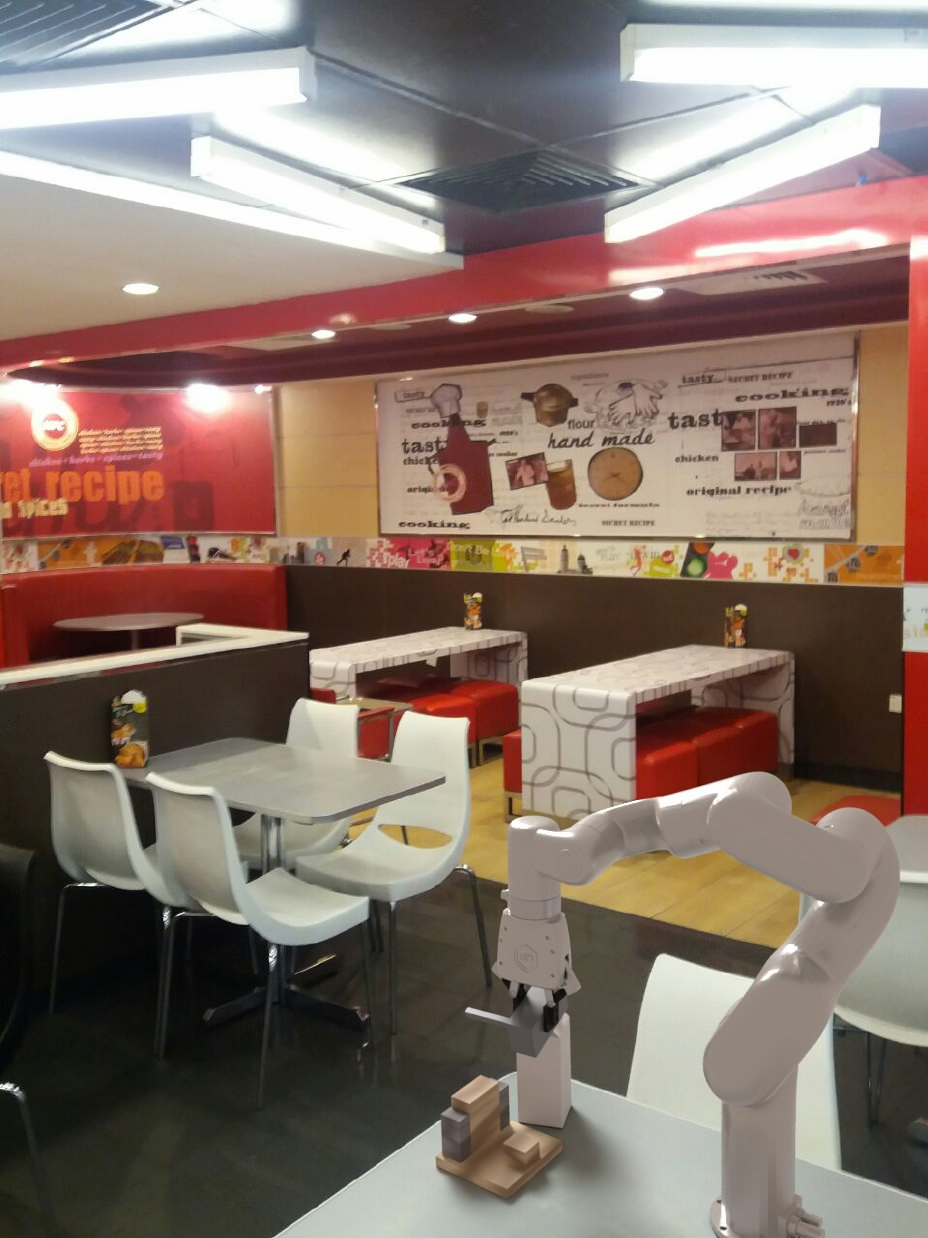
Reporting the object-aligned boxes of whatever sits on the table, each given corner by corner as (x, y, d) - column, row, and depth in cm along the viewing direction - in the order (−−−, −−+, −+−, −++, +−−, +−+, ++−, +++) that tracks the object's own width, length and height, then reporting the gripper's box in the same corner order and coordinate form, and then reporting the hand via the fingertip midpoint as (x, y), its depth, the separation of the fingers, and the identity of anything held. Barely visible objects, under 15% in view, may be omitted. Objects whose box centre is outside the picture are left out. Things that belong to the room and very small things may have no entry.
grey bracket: (568, 1007, 168) (564, 980, 166) (536, 1058, 159) (531, 1030, 157) (503, 990, 173) (499, 964, 172) (469, 1039, 165) (463, 1012, 163)
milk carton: (517, 1123, 176) (514, 1008, 174) (528, 1099, 183) (525, 988, 180) (562, 1129, 174) (560, 1013, 171) (571, 1104, 181) (569, 992, 178)
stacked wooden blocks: (562, 1150, 169) (561, 1090, 167) (507, 1199, 158) (505, 1136, 157) (492, 1121, 177) (491, 1064, 175) (436, 1166, 166) (433, 1105, 165)
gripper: (470, 902, 162) (473, 1022, 164) (576, 924, 153) (577, 1050, 156) (496, 885, 168) (498, 1001, 171) (599, 905, 160) (599, 1027, 162)
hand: (535, 1023), depth 163 cm, fingers closed on grey bracket, 4 cm apart
